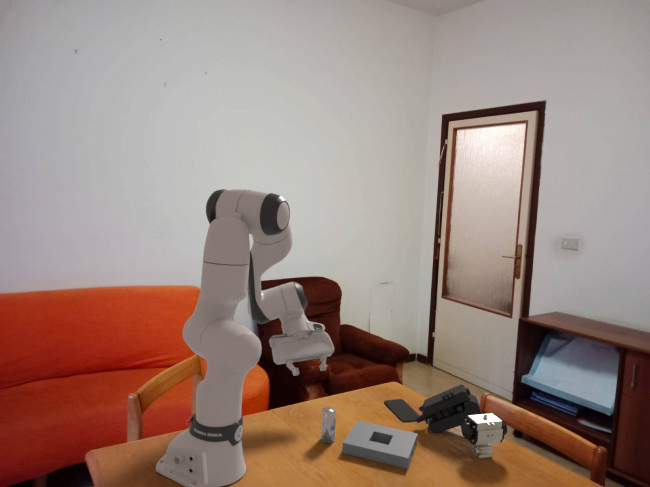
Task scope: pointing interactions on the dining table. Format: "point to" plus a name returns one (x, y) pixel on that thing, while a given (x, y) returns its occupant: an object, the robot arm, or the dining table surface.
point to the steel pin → (328, 424)
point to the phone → (401, 410)
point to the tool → (448, 409)
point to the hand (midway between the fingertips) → (310, 372)
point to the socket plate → (380, 444)
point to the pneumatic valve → (483, 432)
